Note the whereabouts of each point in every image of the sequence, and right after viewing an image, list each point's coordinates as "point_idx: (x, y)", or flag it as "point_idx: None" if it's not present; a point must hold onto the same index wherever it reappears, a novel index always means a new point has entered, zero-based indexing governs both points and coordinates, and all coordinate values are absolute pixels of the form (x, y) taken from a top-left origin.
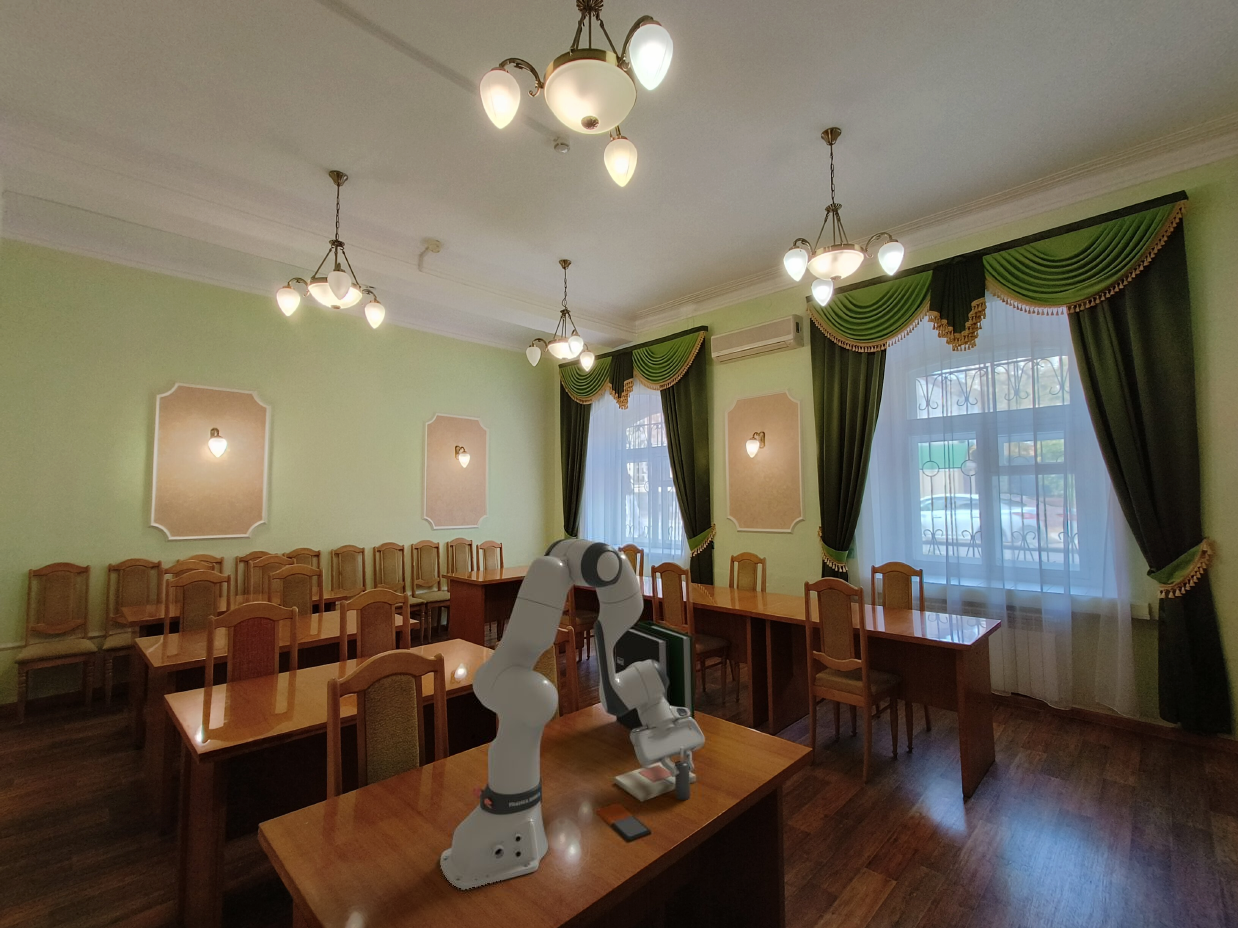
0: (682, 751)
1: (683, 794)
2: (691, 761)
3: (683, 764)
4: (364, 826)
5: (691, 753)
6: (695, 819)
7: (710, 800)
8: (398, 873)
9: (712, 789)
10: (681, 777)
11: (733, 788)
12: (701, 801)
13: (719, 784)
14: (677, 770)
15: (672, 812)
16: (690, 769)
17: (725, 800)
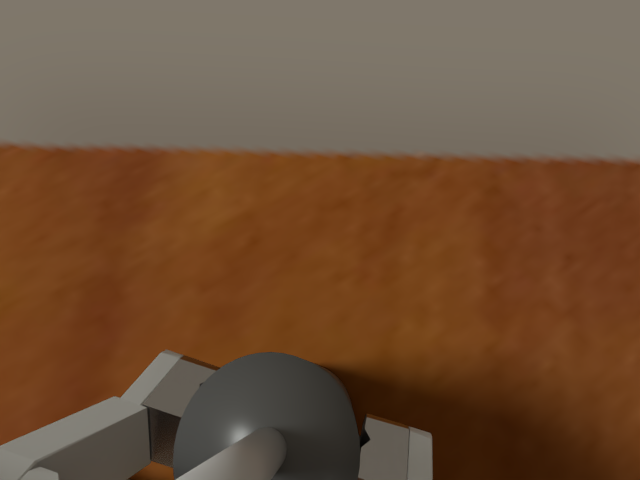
0: (229, 462)
1: (340, 381)
2: (132, 394)
3: (276, 416)
4: None
5: (12, 446)
6: (470, 208)
7: (251, 249)
8: None
9: (130, 306)
10: (347, 396)
11: (65, 220)
12: (291, 282)
13: (54, 305)
14: (378, 438)
15: (509, 350)
16: (219, 367)
17: (207, 190)
